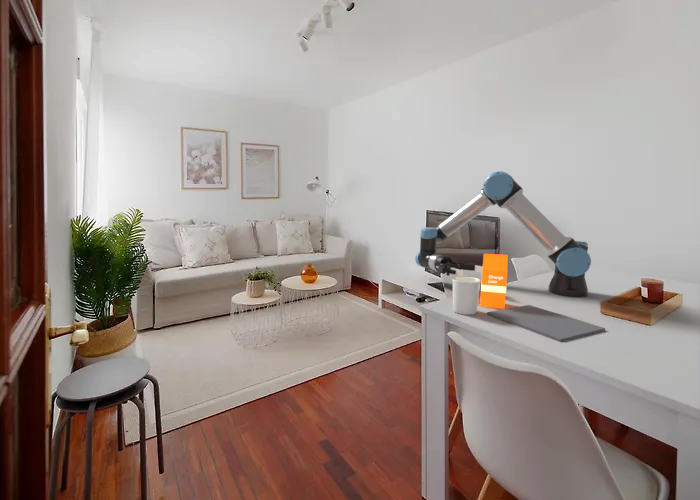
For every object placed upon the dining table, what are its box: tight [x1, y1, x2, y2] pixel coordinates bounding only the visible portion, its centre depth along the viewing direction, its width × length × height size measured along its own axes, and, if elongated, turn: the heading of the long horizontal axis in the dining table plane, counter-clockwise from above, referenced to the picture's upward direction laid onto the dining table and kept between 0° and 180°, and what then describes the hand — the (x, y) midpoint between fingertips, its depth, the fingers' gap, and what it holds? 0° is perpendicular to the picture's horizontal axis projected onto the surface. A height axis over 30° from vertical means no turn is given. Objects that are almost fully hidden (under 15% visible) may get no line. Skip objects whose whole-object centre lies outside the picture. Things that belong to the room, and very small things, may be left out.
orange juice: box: [479, 253, 509, 310], centre depth 146 cm, size 8×9×20 cm
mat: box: [486, 304, 606, 343], centre depth 128 cm, size 22×28×1 cm
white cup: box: [451, 276, 482, 316], centre depth 138 cm, size 10×10×12 cm
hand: (474, 272), depth 155 cm, fingers open, 13 cm apart
